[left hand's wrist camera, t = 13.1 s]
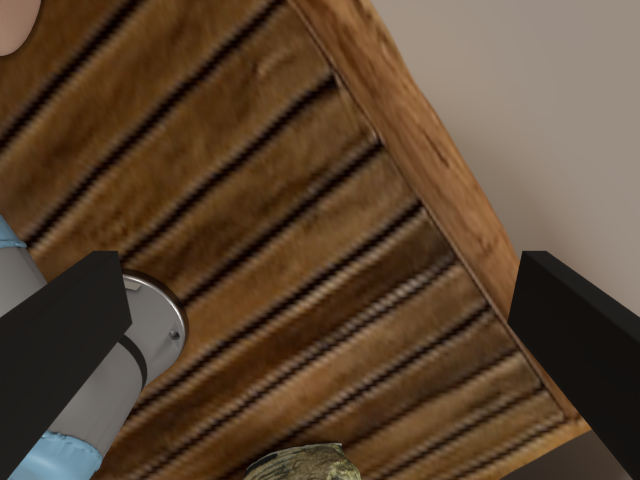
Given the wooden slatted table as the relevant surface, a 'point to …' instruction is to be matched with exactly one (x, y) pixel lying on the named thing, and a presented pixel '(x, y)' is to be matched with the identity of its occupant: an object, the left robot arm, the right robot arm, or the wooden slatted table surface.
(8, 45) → the anatomical model
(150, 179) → the wooden slatted table surface
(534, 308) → the left robot arm
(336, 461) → the fossil
